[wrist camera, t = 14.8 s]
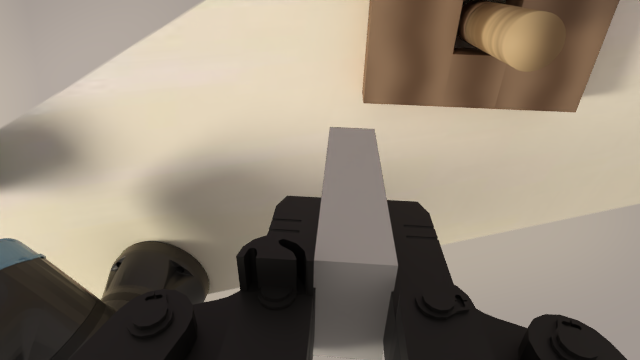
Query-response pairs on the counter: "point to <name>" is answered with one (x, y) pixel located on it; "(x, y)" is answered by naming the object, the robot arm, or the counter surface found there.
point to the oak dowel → (512, 33)
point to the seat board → (475, 58)
